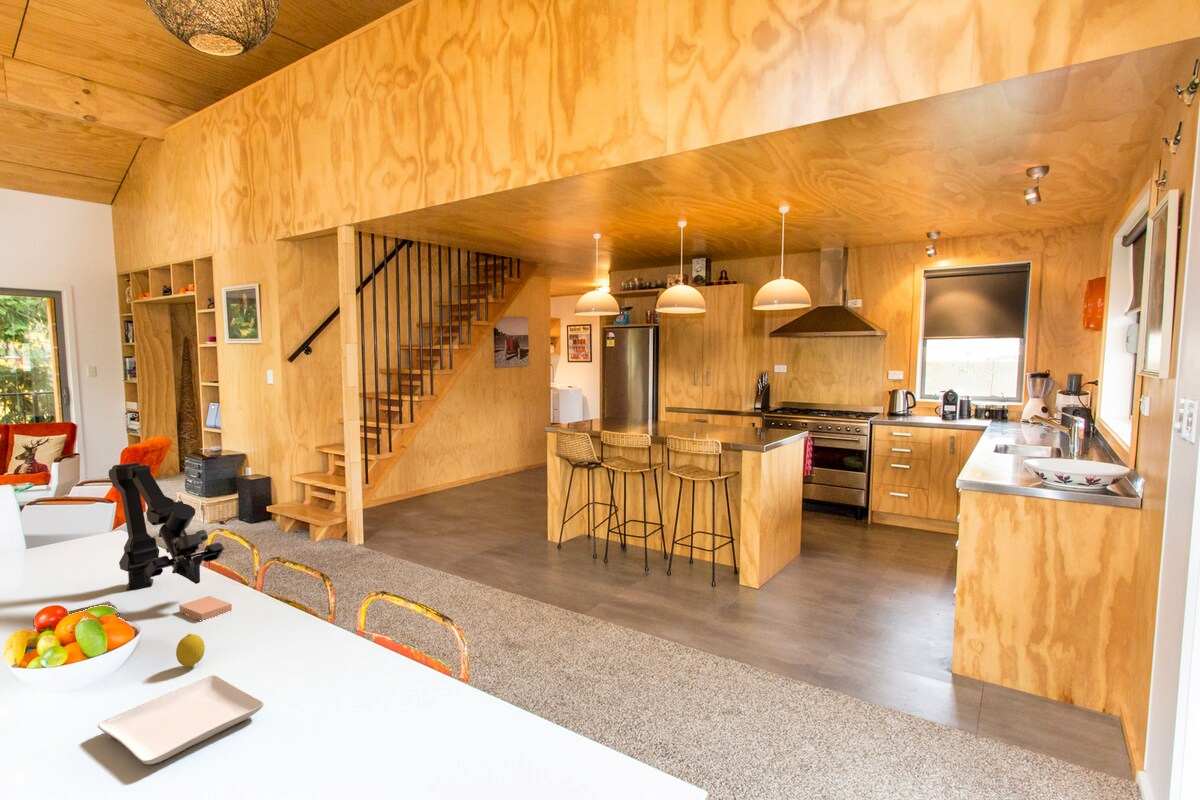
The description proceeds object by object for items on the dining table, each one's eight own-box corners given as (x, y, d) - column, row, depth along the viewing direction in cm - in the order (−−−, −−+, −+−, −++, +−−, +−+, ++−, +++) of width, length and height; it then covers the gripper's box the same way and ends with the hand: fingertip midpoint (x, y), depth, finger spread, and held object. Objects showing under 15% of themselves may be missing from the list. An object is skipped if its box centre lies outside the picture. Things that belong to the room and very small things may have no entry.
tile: (179, 605, 173) (201, 614, 166) (209, 595, 179) (231, 603, 173) (179, 613, 173) (202, 622, 167) (209, 604, 180) (231, 612, 174)
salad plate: (145, 779, 104) (144, 760, 104) (95, 739, 116) (94, 722, 115) (267, 718, 122) (267, 701, 122) (214, 688, 134) (213, 673, 133)
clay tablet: (121, 617, 171) (120, 607, 171) (75, 630, 163) (74, 620, 162) (103, 605, 179) (103, 596, 179) (59, 617, 171) (58, 607, 171)
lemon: (210, 664, 143) (209, 631, 143) (186, 675, 138) (184, 641, 138) (196, 659, 146) (194, 627, 145) (171, 670, 141) (169, 636, 140)
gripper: (148, 531, 168) (170, 577, 163) (219, 516, 184) (241, 557, 179) (137, 554, 173) (158, 599, 168) (206, 537, 189) (227, 578, 184)
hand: (198, 582), depth 174 cm, fingers closed
